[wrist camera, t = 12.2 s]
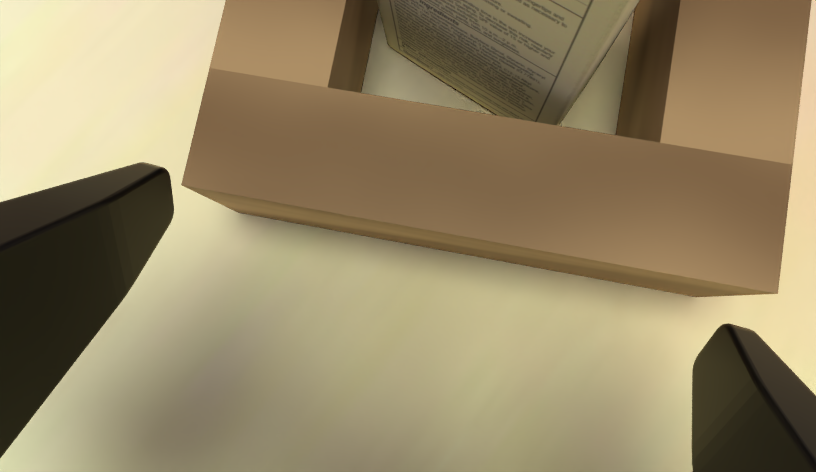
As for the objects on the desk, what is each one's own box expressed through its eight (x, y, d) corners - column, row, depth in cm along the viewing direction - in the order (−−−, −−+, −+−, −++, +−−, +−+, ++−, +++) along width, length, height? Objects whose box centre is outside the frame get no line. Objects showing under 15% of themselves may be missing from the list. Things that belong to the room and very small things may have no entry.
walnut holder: (696, 297, 17) (777, 293, 13) (238, 212, 18) (181, 185, 14) (753, -134, 18) (840, -256, 14) (329, -189, 19) (302, -317, 15)
